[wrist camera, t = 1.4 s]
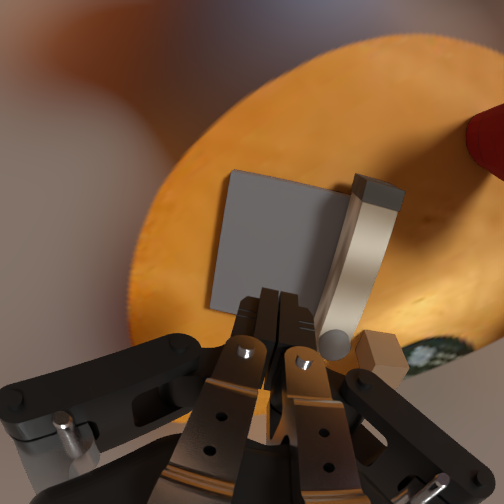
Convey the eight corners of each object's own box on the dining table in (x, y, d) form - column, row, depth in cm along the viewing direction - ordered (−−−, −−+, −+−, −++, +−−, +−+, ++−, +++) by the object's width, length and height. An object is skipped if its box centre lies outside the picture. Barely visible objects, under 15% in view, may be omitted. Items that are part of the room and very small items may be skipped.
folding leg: (339, 331, 31) (345, 363, 26) (310, 326, 31) (312, 358, 26) (388, 182, 25) (409, 193, 20) (355, 173, 25) (370, 182, 20)
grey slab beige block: (440, 221, 27) (468, 241, 21) (384, 354, 33) (396, 388, 28) (234, 169, 28) (220, 178, 22) (209, 322, 34) (196, 355, 28)
